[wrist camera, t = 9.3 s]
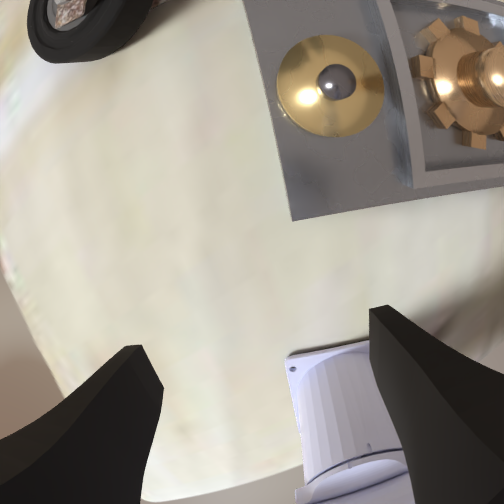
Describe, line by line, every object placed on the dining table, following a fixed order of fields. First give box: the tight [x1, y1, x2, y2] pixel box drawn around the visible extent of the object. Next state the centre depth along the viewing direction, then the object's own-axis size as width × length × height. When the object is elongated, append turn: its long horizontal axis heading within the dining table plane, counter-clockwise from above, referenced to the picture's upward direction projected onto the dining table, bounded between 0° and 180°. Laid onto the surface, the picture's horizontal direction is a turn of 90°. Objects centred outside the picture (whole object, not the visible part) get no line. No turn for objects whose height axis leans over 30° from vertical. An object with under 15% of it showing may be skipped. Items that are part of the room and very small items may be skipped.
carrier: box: [242, 0, 504, 221], centre depth 12 cm, size 13×18×4 cm
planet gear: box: [411, 15, 504, 150], centre depth 11 cm, size 8×8×4 cm
